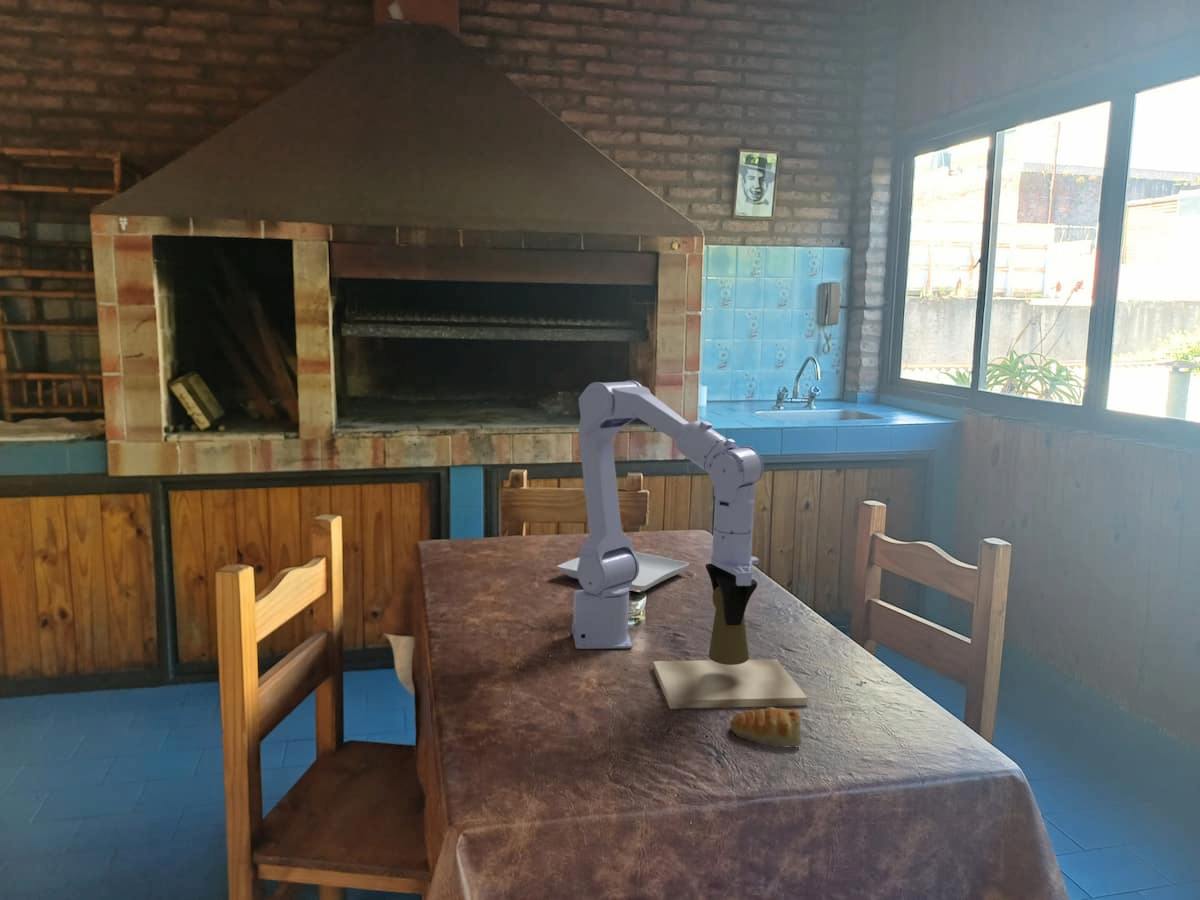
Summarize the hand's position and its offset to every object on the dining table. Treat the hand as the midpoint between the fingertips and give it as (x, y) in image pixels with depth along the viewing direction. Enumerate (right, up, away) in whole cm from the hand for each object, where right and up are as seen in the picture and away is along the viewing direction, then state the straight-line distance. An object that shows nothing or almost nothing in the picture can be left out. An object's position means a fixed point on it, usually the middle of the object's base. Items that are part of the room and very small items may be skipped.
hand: (728, 617), depth 128 cm
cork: (0, -6, +1) cm, 6 cm away
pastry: (+4, -13, -14) cm, 20 cm away
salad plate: (-14, -3, +54) cm, 56 cm away
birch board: (0, -10, +1) cm, 10 cm away
